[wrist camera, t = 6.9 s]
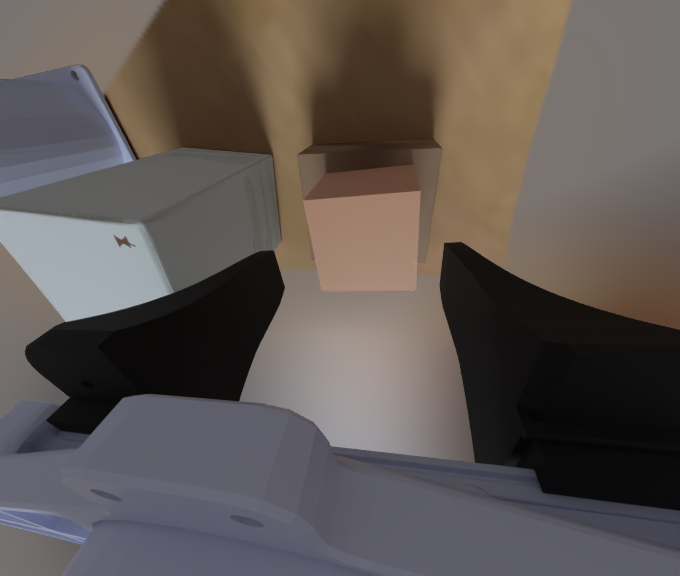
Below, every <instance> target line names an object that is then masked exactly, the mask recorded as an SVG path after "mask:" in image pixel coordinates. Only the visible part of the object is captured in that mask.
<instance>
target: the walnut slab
mask: <svg viewBox="0 0 680 576" xmlns="http://www.w3.org/2000/svg"><path fill="white" fill-rule="evenodd" d="M441 152H442V147H441V146H440V145H439V144H438V143H437V142H436V141H435V140H434V139H417V140H397V141H377V142H358V143H338V144H319V145H312V146H310V147H308V148H307V149H305V150H304V151H302V152H301V153H299V154H298V155H297V157H298V164H299V170H300V177H301V184H302V191H303V198H304V199H305V197H306V196H307V195H308V194H309V193H310V191H311V190H312V189H313V188H314V187H315V186H316V184H317V183H318V182H319V181H320V180H321V178H322V177H323V176H324V175H325V174H326V173H335V172H344V171H354V170H364V169H374V168H384V167H394V166H403V165H413V167H414V170H415V173H416V177H417V180H418V183H419V187H420V190H421V195H420V216H419V237H418V257H417V262H424V263H426V256H427V249H428V242H429V235H430V228H431V221H432V214H433V207H434V201H435V194H436V187H437V180H438V173H439V166H440V159H441ZM306 219H307V218H306ZM307 226H308V223H307ZM308 232H309V227H308ZM309 239H310V246H311V253H312V260H315V256H314V251H313V247H312V242H311V237H310V232H309Z"/></svg>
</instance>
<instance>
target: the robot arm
mask: <svg viewBox="0 0 680 576" xmlns="http://www.w3.org/2000/svg"><path fill="white" fill-rule="evenodd" d="M76 73H77V74H78V77H79V78H78V77H77V75H76ZM135 160H136V158H135V156H134V154H133V152H132V150H131V148H130V146H129V144H128V142H127V141H126V139H125V137H124V135H123V133H122V131H121V129H120V127H119V125H118V123H117V121H116V119H115V118H114V116H113V114H112V112H111V110H110V108H109V106H108V104H107V102H106V100H105V98H104V97H103V95H102V93H101V91H100V89H99V87H98V85H97V83H96V81H95V80H94V77H93V76H92V74H91V72H90V71H89V69H88V68H87V67H85V66H83V65H72V66H68V67H64V68H59V69H55V70H51V71H46V72H43V73H38V74H34V75H29V76H25V77H21V78H17V79H12V80H8V79H0V197H4V196H8V195H11V194H15V193H18V192H22V191H26V190H29V189H33V188H36V187H40V186H43V185H47V184H51V183H54V182H58V181H61V180H65V179H69V178H72V177H76V176H79V175H83V174H87V173H90V172H94V171H98V170H102V169H105V168H109V167H113V166H117V165H120V164H124V163H128V162H131V161H135ZM284 289H285V286H284V283H283V280H282V276H281V273H280V270H279V266H278V263H277V260H276V257H275V253H274V250H268V251H259V252H256V253H254V254H252V255H250V256H248V257H246V258H244V259H242V260H240V261H238V262H237V263H235V264H233V265H231V266H229V267H227V268H226V269H224V270H222V271H220V272H218V273H216V274H214V275H212V276H210V277H208V278H206V279H204V280H202V281H200V282H198V283H196V284H194V285H191V286H189V287H187V288H184V289H182V290H179V291H177V292H174V293H172V294H169V295H166V296H163V297H160V298H158V299H155V300H152V301H149V302H146V303H143V304H139V305H136V306H132V307H129V308H125V309H122V310H118V311H114V312H110V313H106V314H102V315H97V316H92V317H88V318H83V319H78V320H74V321H68V322H64V323H62V324H59V325H57V326H55V327H53V328H52V329H50V330H49V331H47V332H46V333H45V334H43V335H42V336H40V337H39V338H37V339H36V340H34V341H33V342H32V343H30V344H29V345H27V346H26V350H25V355H26V358H27V360H28V362H30V364H31V365H32V366H33V367H34V368H35V369H36V370H37V371H38V372H39V373H40V374H41V375H43V376H44V377H45V378H46V379H48V380H49V381H50V382H51V383H53V384H54V385H55V386H56V387H58V388H59V389H60V390H61V391H63V392H64V393H65V394H66V395H68V396H69V397H70V398H69V399H68V400H67V401H66V402H65V403H64V404H63V405H62V406H60V405H58V404H56V403H52V402H47V401H36V400H22V401H21V402H20V403H19V404H18V405H16V406H15V407H14V408H13V409H12V410H10V411H9V412H8V413H7V414H6V415H4V416H3V417H2V418H1V419H0V524H3V525H8V526H12V527H16V528H20V529H24V530H28V531H33V532H36V533H40V534H44V535H48V536H52V537H56V538H59V539H63V540H67V541H71V542H75V543H79V544H82V546H81V548H80V549H79V550H78V552H77V553H76V555H75V556H74V558H73V559H72V560H71V562H70V563H69V565H68V566H67V568H66V569H65V571H64V572H63V574H62V575H61V576H680V330H678V329H673V328H669V327H665V326H660V325H656V324H652V323H648V322H643V321H639V320H635V319H631V318H627V317H624V316H621V315H617V314H614V313H610V312H607V311H603V310H600V309H597V308H594V307H590V306H587V305H584V304H581V303H578V302H576V301H573V300H570V299H567V298H565V297H562V296H559V295H556V294H554V293H551V292H549V291H547V290H544V289H542V288H540V287H537V286H535V285H533V284H531V283H529V282H527V281H524V280H523V279H520V278H518V277H517V276H515V275H513V274H511V273H509V272H508V271H506V270H504V269H502V268H501V267H499V266H497V265H496V264H494V263H493V262H491V261H489V260H488V259H486V258H485V257H483V256H482V255H480V254H479V253H477V252H476V251H474V250H473V249H471V248H470V247H468V246H467V245H465V244H464V243H462V242H455V243H444V251H443V260H442V269H441V278H440V292H441V299H442V304H443V309H444V312H445V316H446V319H447V322H448V325H449V329H450V331H451V335H452V338H453V341H454V345H455V348H456V351H457V355H458V359H459V363H460V369H461V374H462V380H463V385H464V391H465V397H466V403H467V409H468V415H469V422H470V429H471V435H472V442H473V450H474V457H475V463H473V462H464V461H454V460H446V459H437V458H428V457H420V456H411V455H402V454H393V453H384V452H376V451H367V450H358V449H350V448H341V447H332V446H330V444H329V442H328V440H327V439H326V437H325V436H324V435H323V433H322V432H321V431H320V430H319V428H318V427H317V426H316V425H315V424H314V422H312V421H310V420H308V419H306V418H304V417H303V416H301V415H299V414H297V413H295V412H293V411H291V410H289V409H285V408H280V407H276V406H271V405H267V404H262V403H252V402H240V401H239V400H240V396H241V393H242V390H243V387H244V384H245V381H246V378H247V375H248V372H249V369H250V366H251V364H252V361H253V359H254V356H255V353H256V351H257V349H258V347H259V344H260V342H261V340H262V338H263V337H264V335H265V333H266V331H267V329H268V327H269V325H270V323H271V321H272V319H273V317H274V315H275V313H276V311H277V309H278V307H279V305H280V302H281V299H282V296H283V292H284Z"/></svg>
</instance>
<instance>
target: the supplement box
mask: <svg viewBox="0 0 680 576" xmlns="http://www.w3.org/2000/svg"><path fill="white" fill-rule="evenodd" d="M0 242H1V243H2V244H3V245H4V247H5V248H6V249H7V250H8V251H9V253H10V254H11V255H12V256H13V258H14V259H15V260H16V261H17V262H18V264H19V265H20V266H21V267H22V268H23V270H24V271H25V272H26V273H27V274H28V276H29V277H30V278H31V279H32V281H33V282H34V283H35V284H36V285H37V287H38V288H39V289H40V290H41V292H42V293H43V294H44V295H45V296H46V298H47V299H48V300H49V301H50V303H51V304H52V305H53V306H54V308H55V309H56V310H57V311H58V312H59V314H60V315H61V316H62V318H63V319H64V320H65V321H66V322H68V321H74V320H78V319H83V318H88V317H92V316H97V315H102V314H106V313H110V312H114V311H118V310H122V309H125V308H129V307H132V306H136V305H139V304H143V303H146V302H149V301H152V300H155V299H158V298H160V297H163V296H166V295H169V294H172V293H174V292H177V291H179V290H182V289H184V288H187V287H189V286H191V285H194V284H196V283H198V282H200V281H202V280H204V279H206V278H208V277H210V276H212V275H214V274H216V273H218V272H220V271H222V270H224V269H226V268H227V267H229V266H231V265H233V264H235V263H237V262H238V261H240V260H242V259H244V258H246V257H248V256H250V255H252V254H254V253H256V252H259V251H268V250H274V251H275V250H276V249H277V247H278V246H279V245H280V243H281V234H280V224H279V214H278V205H277V195H276V186H275V177H274V168H273V157H272V155H268V154H256V153H242V152H231V151H219V150H208V149H196V148H183V147H182V148H178V149H174V150H171V151H167V152H164V153H160V154H157V155H153V156H149V157H145V158H142V159H139V160H135V161H131V162H128V163H124V164H120V165H117V166H113V167H109V168H105V169H102V170H98V171H94V172H90V173H87V174H83V175H79V176H76V177H72V178H69V179H65V180H61V181H58V182H54V183H51V184H47V185H43V186H40V187H36V188H33V189H29V190H26V191H22V192H18V193H15V194H11V195H8V196H4V197H0Z"/></svg>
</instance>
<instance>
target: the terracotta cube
mask: <svg viewBox="0 0 680 576" xmlns="http://www.w3.org/2000/svg"><path fill="white" fill-rule="evenodd" d="M420 195H421V190H420V187H419V183H418V180H417V177H416V173H415V170H414V167H413V165H403V166H394V167H384V168H374V169H364V170H354V171H344V172H335V173H326V174H325V175H324V176H323V177H322V178H321V180H320V181H319V182H318V183H317V184H316V186H315V187H314V188H313V189H312V190H311V191H310V193H309V194H308V195H307V196H306V197H305V199H304V200H303V203H304V208H305V213H306V218H307V223H308V227H309V232H310V237H311V242H312V247H313V251H314V256H315V261H316V266H317V271H318V275H319V280H320V285H321V289H322V291H412V290H413V291H414V290H415V291H416V277H417V257H418V237H419V216H420Z"/></svg>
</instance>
